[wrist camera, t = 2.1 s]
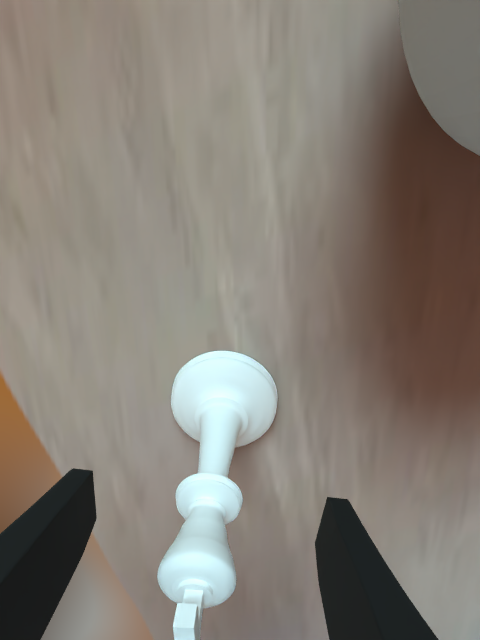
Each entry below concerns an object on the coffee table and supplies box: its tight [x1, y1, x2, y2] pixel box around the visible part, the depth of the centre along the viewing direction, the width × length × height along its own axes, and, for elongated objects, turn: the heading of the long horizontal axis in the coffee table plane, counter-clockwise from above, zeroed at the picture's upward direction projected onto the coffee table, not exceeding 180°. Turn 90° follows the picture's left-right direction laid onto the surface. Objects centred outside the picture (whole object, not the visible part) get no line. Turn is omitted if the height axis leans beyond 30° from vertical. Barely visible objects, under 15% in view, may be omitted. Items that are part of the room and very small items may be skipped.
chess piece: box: [157, 351, 278, 640], centre depth 11 cm, size 5×5×10 cm
